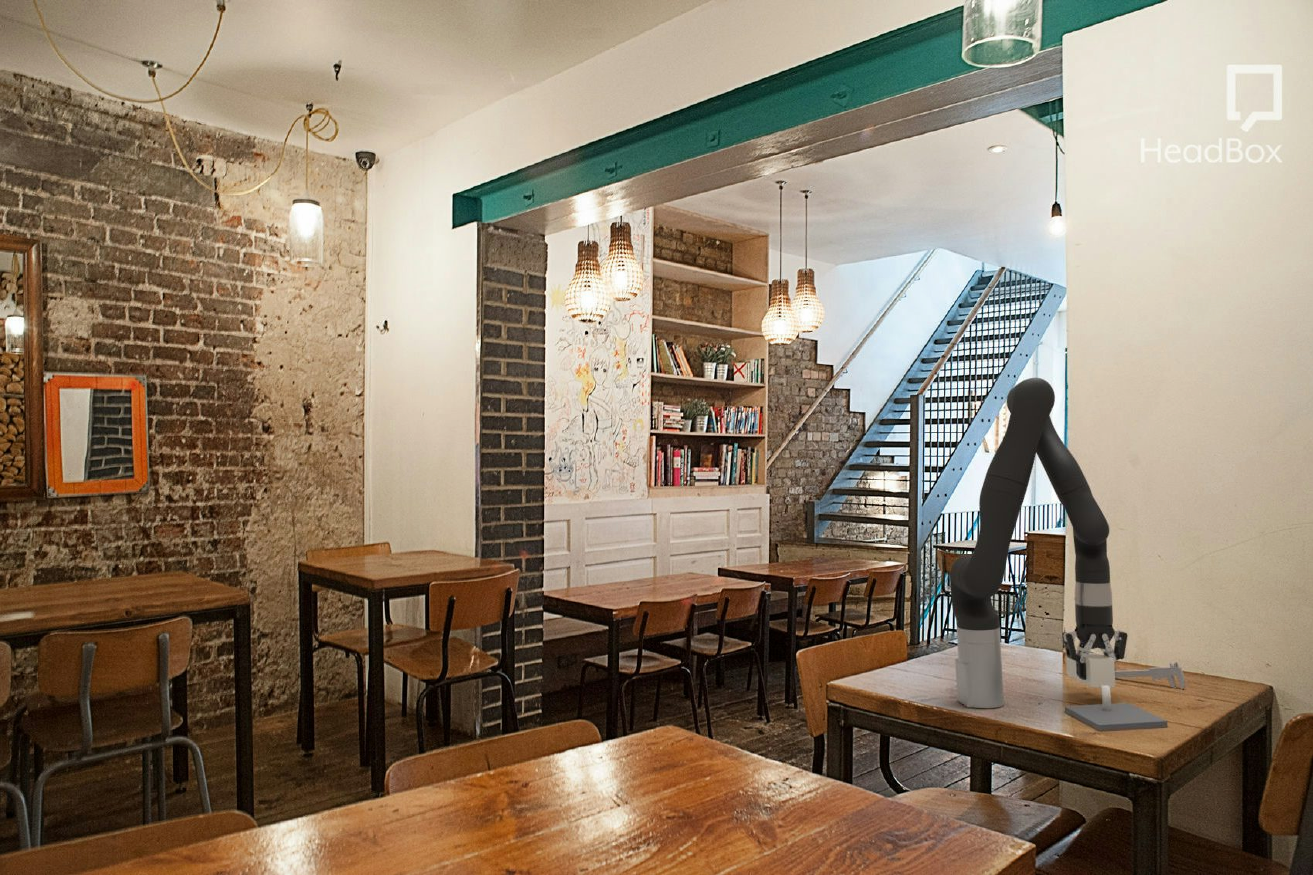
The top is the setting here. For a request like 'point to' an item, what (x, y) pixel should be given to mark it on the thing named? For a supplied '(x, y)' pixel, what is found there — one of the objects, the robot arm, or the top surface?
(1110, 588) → the robot arm
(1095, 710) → the pin plate
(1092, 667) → the socket block
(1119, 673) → the caliper
